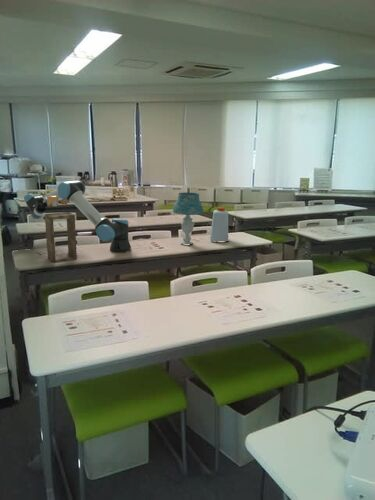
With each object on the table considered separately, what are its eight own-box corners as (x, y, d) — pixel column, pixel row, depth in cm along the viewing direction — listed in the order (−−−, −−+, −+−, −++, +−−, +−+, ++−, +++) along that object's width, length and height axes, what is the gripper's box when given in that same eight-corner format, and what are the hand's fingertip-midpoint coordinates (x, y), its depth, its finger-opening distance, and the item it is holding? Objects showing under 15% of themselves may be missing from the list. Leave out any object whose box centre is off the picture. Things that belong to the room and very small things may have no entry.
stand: (71, 254, 254) (69, 212, 246) (76, 258, 246) (74, 214, 238) (47, 258, 245) (44, 214, 236) (52, 262, 237) (49, 216, 229)
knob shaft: (49, 200, 261) (49, 192, 260) (60, 205, 245) (59, 196, 243) (39, 201, 257) (38, 193, 256) (49, 206, 241) (48, 197, 239)
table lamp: (207, 245, 291) (210, 195, 279) (182, 249, 278) (184, 196, 267) (190, 238, 310) (192, 191, 298) (166, 242, 297) (167, 192, 285)
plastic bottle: (209, 242, 301) (211, 208, 293) (210, 238, 315) (212, 205, 308) (228, 243, 300) (230, 209, 292) (228, 239, 314) (230, 206, 306)
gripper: (52, 213, 275) (61, 201, 256) (30, 214, 265) (37, 202, 246) (50, 203, 276) (58, 191, 257) (27, 205, 266) (34, 192, 247)
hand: (48, 197), depth 252 cm, fingers closed on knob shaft, 3 cm apart
